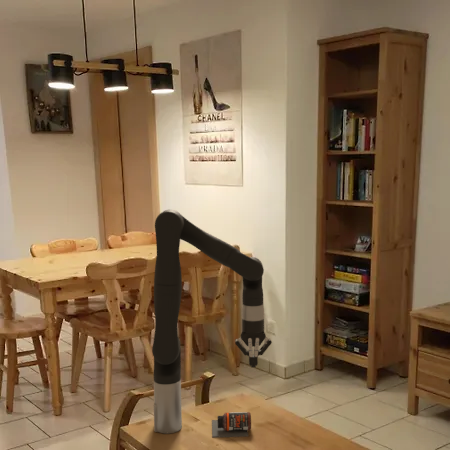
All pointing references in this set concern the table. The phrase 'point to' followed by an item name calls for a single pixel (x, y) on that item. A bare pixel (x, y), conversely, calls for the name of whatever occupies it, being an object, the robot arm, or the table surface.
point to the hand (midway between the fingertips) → (253, 366)
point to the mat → (222, 433)
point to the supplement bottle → (235, 421)
